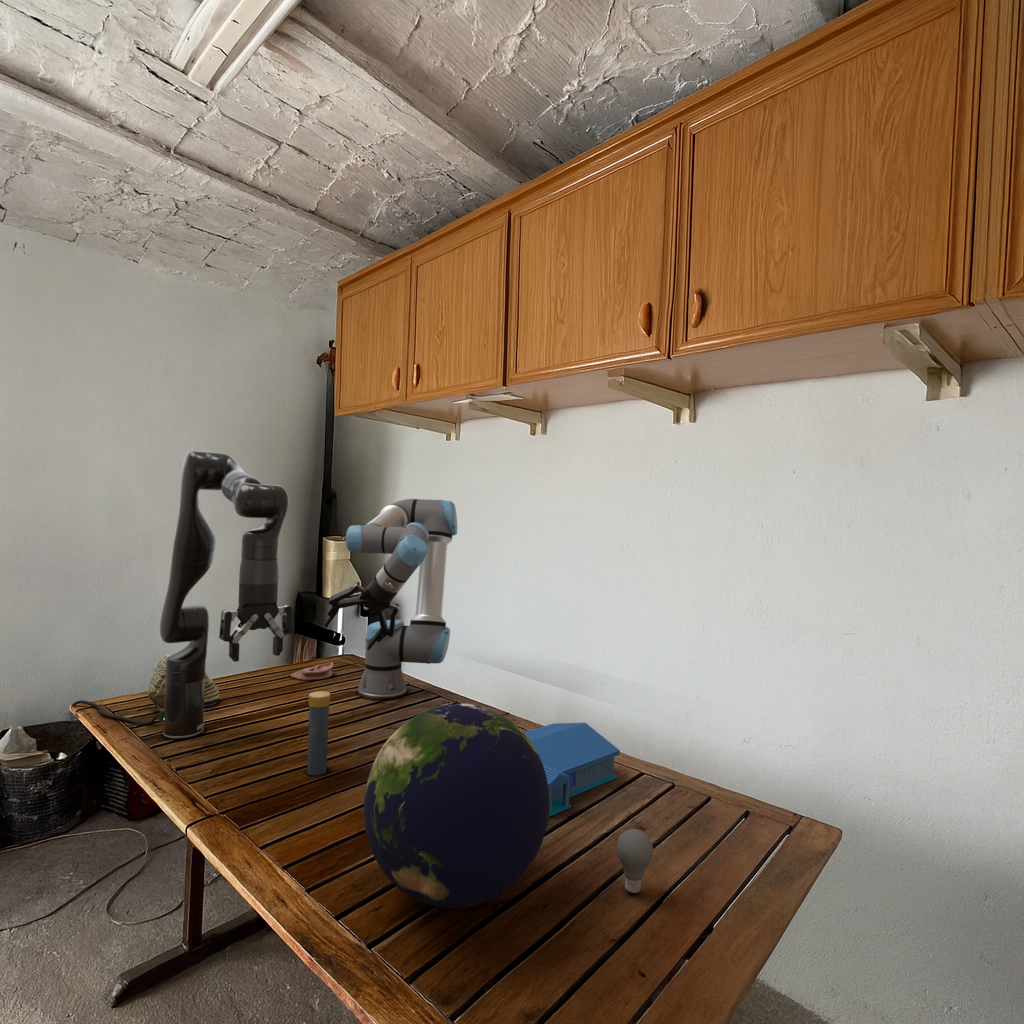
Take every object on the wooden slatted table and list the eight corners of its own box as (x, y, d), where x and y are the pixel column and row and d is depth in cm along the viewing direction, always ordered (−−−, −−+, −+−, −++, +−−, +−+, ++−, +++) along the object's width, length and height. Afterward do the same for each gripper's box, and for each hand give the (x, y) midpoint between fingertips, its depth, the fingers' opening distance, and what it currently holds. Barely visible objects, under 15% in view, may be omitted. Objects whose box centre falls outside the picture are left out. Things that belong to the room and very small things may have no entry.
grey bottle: (312, 766, 148) (315, 692, 148) (329, 768, 148) (332, 694, 147) (303, 774, 144) (306, 698, 144) (321, 776, 143) (324, 699, 143)
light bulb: (610, 879, 108) (613, 822, 108) (644, 879, 109) (647, 822, 109) (619, 902, 102) (622, 840, 102) (655, 901, 103) (658, 840, 103)
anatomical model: (285, 666, 217) (303, 658, 228) (285, 677, 217) (303, 669, 228) (321, 670, 214) (337, 661, 225) (321, 681, 214) (337, 673, 225)
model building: (501, 837, 120) (504, 785, 120) (427, 790, 139) (429, 744, 138) (628, 782, 147) (630, 739, 147) (552, 748, 165) (553, 710, 165)
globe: (319, 919, 95) (326, 721, 95) (420, 827, 123) (427, 673, 122) (502, 984, 84) (511, 760, 83) (568, 867, 112) (576, 698, 111)
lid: (314, 700, 148) (314, 690, 148) (333, 702, 148) (334, 692, 147) (304, 706, 144) (304, 696, 143) (324, 708, 143) (324, 698, 143)
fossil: (144, 707, 182) (145, 655, 182) (212, 696, 194) (213, 647, 194) (151, 716, 175) (153, 662, 175) (221, 703, 188) (223, 653, 188)
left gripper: (284, 576, 139) (281, 649, 139) (216, 579, 129) (213, 658, 130) (299, 580, 134) (296, 656, 134) (230, 584, 124) (227, 667, 124)
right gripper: (343, 568, 164) (304, 622, 171) (424, 614, 171) (384, 664, 178) (349, 553, 170) (311, 606, 178) (427, 598, 177) (388, 647, 185)
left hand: (256, 657), depth 132 cm, fingers open, 8 cm apart
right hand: (347, 635), depth 178 cm, fingers open, 13 cm apart
